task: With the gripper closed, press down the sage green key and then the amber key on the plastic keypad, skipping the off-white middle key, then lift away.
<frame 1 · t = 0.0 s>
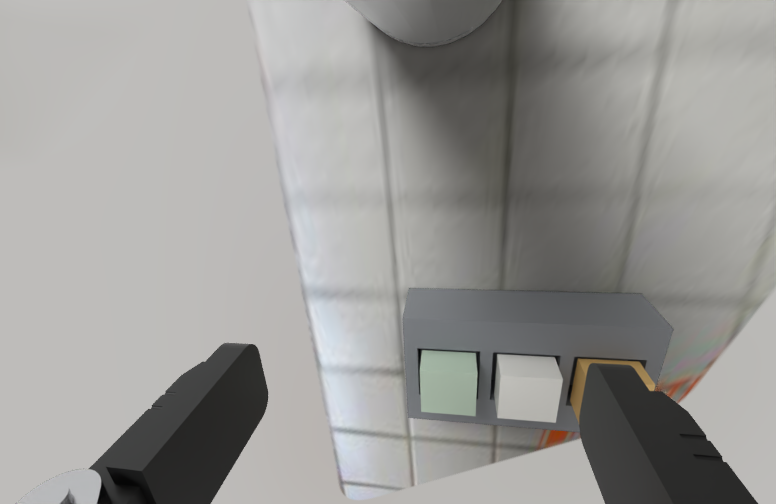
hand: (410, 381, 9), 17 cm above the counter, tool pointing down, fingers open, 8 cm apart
keypad: (514, 341, 28), on the counter
sage green key: (448, 382, 25), point 5 cm above the counter, slide at 0.0 cm
amber key: (609, 393, 23), point 5 cm above the counter, slide at 0.0 cm
off-white key: (525, 387, 24), point 5 cm above the counter, slide at 0.0 cm
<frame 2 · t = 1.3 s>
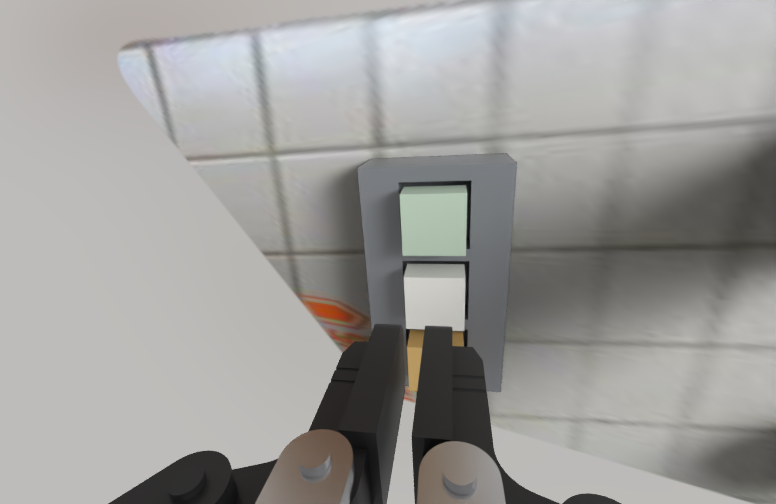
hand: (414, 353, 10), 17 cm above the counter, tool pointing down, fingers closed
keypad: (437, 265, 27), on the counter
sage green key: (434, 220, 21), point 5 cm above the counter, slide at 0.0 cm
amber key: (436, 361, 25), point 5 cm above the counter, slide at 0.0 cm
off-white key: (435, 296, 23), point 5 cm above the counter, slide at 0.0 cm
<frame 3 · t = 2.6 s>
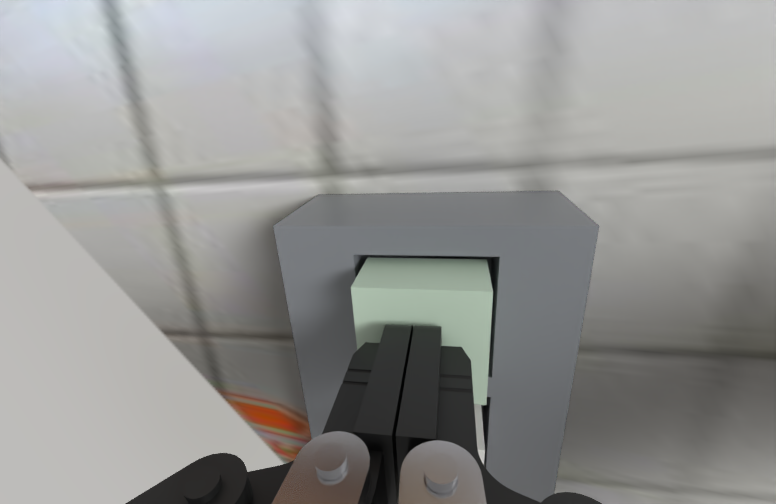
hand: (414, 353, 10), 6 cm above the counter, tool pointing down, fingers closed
keypad: (433, 364, 17), on the counter
sage green key: (423, 327, 11), point 4 cm above the counter, slide at 0.3 cm, touching gripper
off-white key: (425, 457, 12), point 5 cm above the counter, slide at 0.0 cm
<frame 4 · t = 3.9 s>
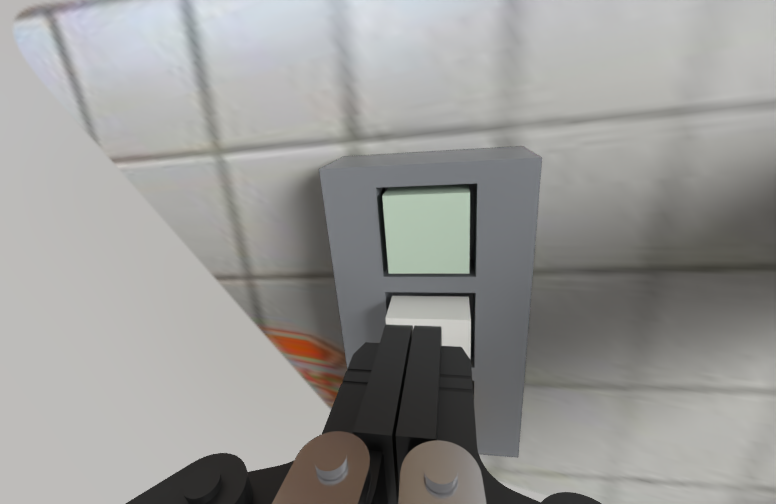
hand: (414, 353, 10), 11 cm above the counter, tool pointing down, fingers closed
keypad: (434, 291, 21), on the counter
sage green key: (428, 228, 17), point 3 cm above the counter, slide at 1.5 cm
off-white key: (429, 340, 17), point 5 cm above the counter, slide at 0.0 cm
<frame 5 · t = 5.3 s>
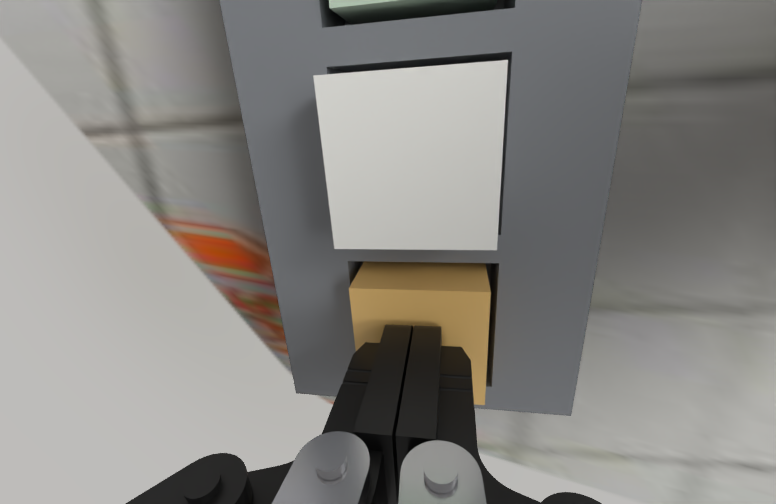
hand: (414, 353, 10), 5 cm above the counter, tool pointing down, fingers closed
keypad: (428, 139, 13), on the counter
amber key: (422, 327, 11), point 4 cm above the counter, slide at 0.7 cm, touching gripper
off-white key: (414, 159, 8), point 5 cm above the counter, slide at 0.0 cm
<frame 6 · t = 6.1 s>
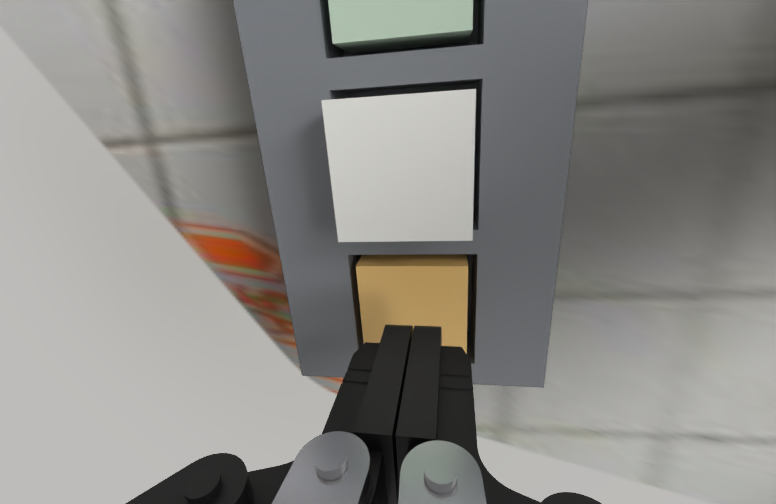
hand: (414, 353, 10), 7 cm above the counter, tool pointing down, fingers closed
keypad: (416, 148, 14), on the counter
amber key: (415, 300, 13), point 3 cm above the counter, slide at 1.5 cm
off-white key: (404, 167, 10), point 5 cm above the counter, slide at 0.0 cm
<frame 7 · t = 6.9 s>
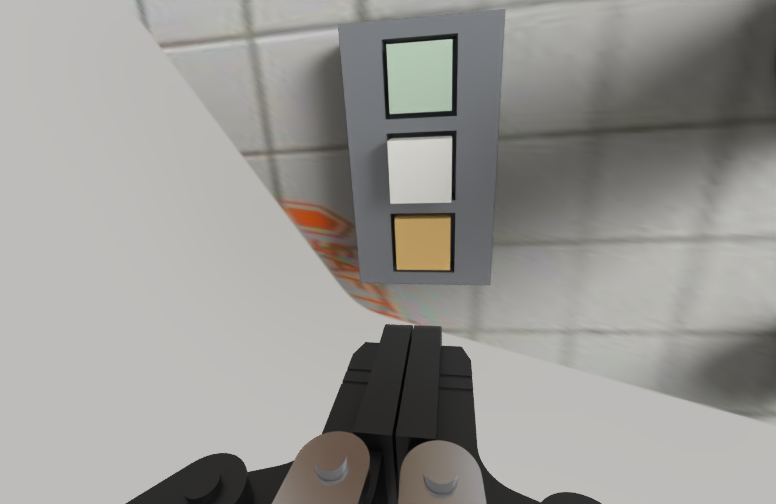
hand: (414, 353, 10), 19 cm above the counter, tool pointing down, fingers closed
keypad: (424, 159, 26), on the counter
sage green key: (420, 79, 21), point 3 cm above the counter, slide at 1.5 cm
amber key: (423, 239, 25), point 3 cm above the counter, slide at 1.5 cm
off-white key: (420, 169, 22), point 5 cm above the counter, slide at 0.0 cm
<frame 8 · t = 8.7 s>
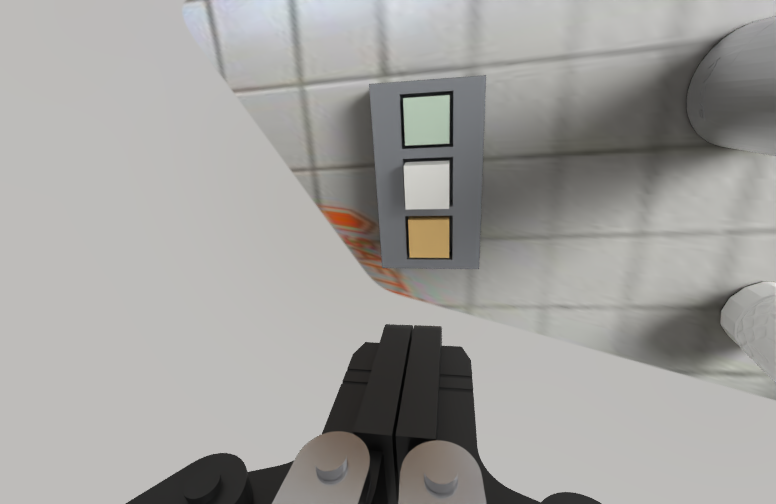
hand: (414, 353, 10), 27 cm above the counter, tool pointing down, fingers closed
white cup: (758, 310, 35), on the counter
keypad: (430, 174, 35), on the counter
sage green key: (427, 120, 30), point 3 cm above the counter, slide at 1.5 cm
amber key: (429, 235, 34), point 3 cm above the counter, slide at 1.5 cm
off-white key: (427, 185, 30), point 5 cm above the counter, slide at 0.0 cm
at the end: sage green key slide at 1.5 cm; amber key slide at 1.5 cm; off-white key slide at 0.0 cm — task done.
